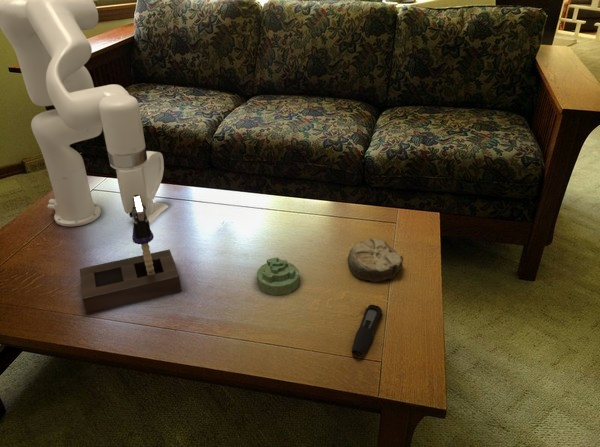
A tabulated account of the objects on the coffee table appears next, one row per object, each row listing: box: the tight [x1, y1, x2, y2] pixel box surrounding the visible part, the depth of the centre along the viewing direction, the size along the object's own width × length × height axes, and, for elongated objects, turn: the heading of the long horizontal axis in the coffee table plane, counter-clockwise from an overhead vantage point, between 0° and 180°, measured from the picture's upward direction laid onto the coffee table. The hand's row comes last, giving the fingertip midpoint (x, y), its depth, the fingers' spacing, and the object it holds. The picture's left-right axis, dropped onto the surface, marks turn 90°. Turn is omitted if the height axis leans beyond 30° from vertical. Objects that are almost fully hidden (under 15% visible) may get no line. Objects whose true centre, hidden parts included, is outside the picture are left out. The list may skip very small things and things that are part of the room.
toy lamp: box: [131, 224, 155, 276], centre depth 120 cm, size 5×5×17 cm
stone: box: [347, 237, 404, 283], centre depth 128 cm, size 13×13×5 cm
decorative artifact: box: [256, 257, 300, 296], centre depth 123 cm, size 10×7×10 cm
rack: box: [79, 249, 182, 315], centre depth 121 cm, size 12×21×4 cm, turn 113°
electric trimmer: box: [350, 304, 383, 357], centre depth 108 cm, size 4×16×3 cm, turn 158°
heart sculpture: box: [132, 150, 169, 224], centre depth 148 cm, size 16×5×18 cm, turn 162°
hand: (140, 226), depth 116 cm, fingers open, 9 cm apart
